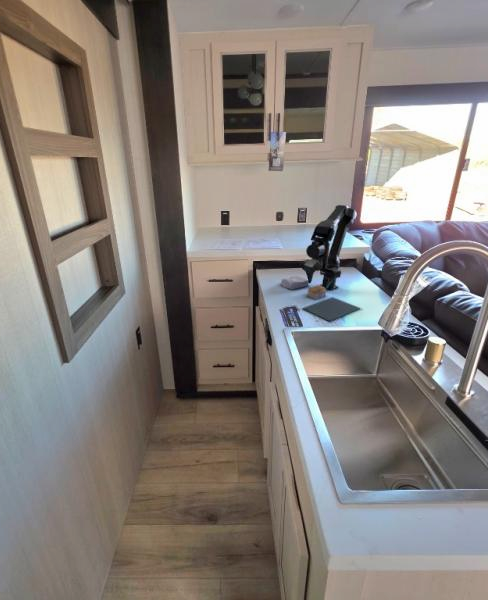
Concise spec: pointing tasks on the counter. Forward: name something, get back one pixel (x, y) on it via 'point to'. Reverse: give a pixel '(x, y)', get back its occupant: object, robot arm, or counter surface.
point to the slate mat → (331, 309)
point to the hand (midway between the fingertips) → (317, 286)
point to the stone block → (294, 282)
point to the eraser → (316, 292)
